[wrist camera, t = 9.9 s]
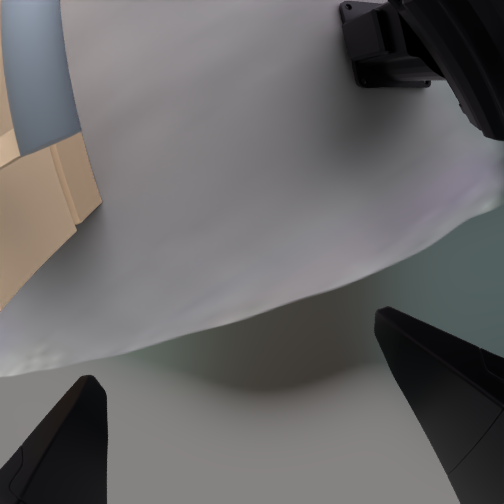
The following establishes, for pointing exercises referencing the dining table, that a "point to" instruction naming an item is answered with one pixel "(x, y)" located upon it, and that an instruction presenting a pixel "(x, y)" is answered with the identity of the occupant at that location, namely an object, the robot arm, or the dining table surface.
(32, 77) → the flap
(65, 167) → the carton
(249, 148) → the dining table surface
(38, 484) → the robot arm
